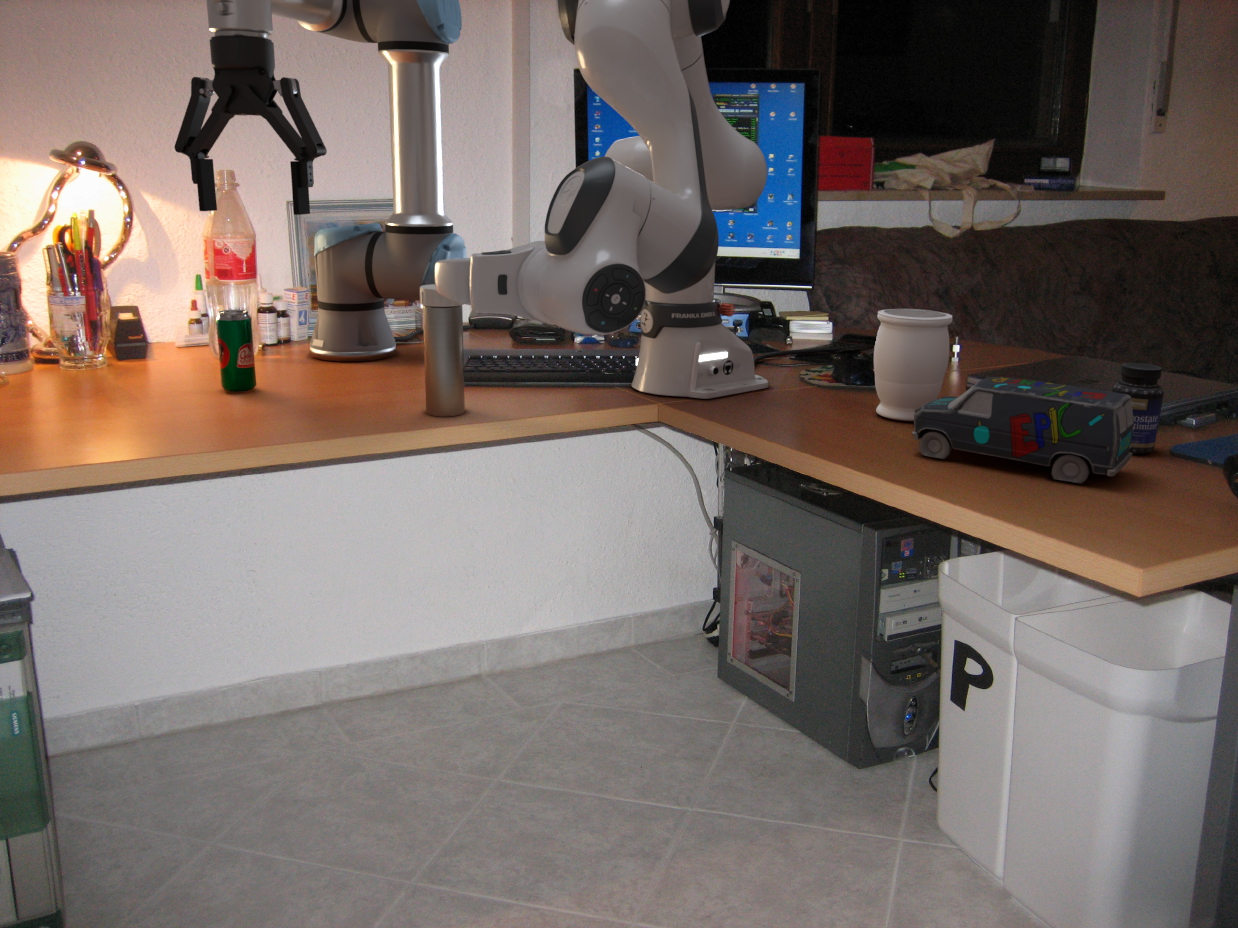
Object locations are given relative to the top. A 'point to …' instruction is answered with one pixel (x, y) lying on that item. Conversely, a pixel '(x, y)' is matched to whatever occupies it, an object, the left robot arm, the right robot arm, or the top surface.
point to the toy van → (1032, 426)
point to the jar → (910, 360)
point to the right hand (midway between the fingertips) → (497, 269)
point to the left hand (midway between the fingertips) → (254, 213)
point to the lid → (434, 297)
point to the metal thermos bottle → (444, 360)
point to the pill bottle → (1142, 402)
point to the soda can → (236, 350)
